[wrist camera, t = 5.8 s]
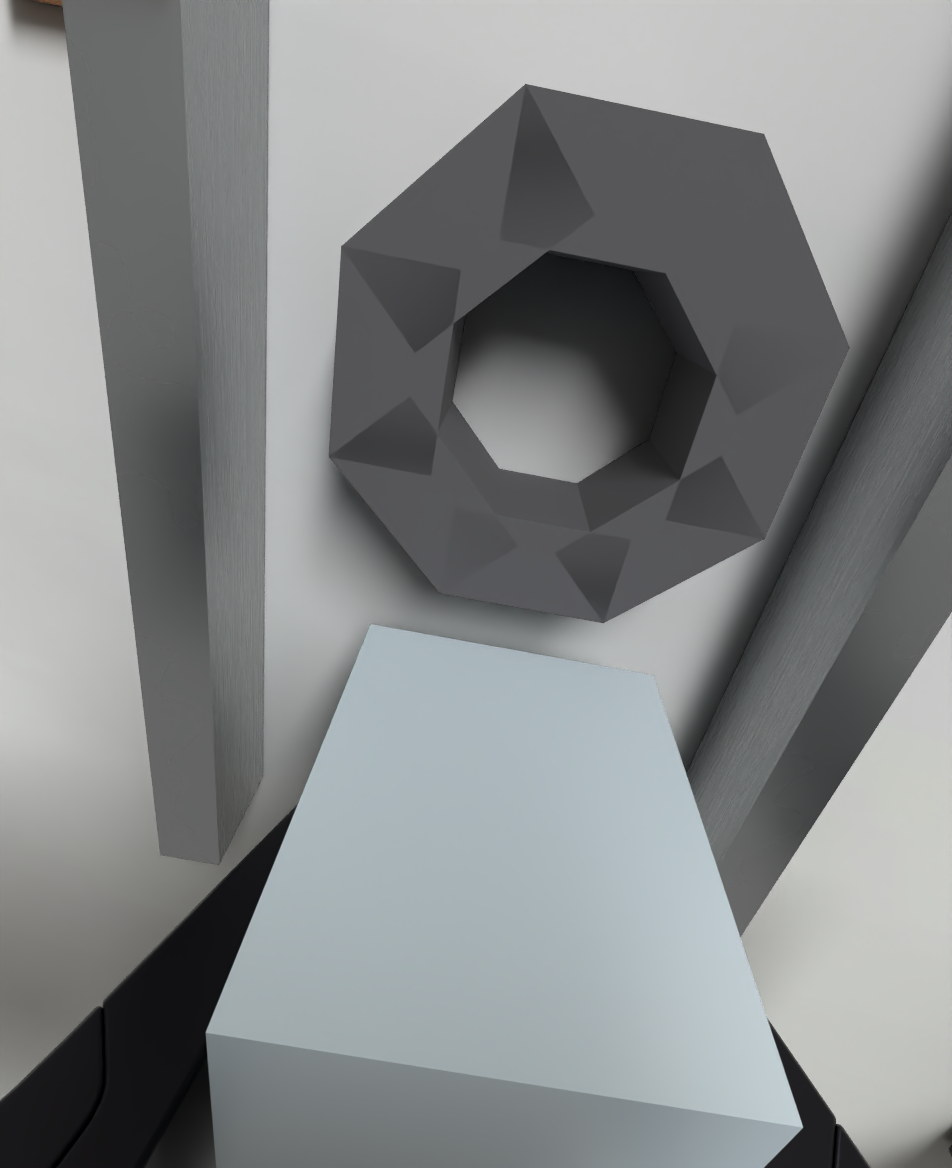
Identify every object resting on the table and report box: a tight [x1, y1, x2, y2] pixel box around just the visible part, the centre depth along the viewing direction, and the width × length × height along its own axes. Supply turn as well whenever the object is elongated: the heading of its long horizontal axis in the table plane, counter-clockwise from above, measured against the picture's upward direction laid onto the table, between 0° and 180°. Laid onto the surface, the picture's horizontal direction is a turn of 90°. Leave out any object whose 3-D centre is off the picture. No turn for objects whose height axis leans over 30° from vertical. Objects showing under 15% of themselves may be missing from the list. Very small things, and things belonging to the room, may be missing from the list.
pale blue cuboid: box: [206, 624, 803, 1168], centre depth 7 cm, size 5×4×5 cm
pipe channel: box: [34, 0, 952, 937], centre depth 7 cm, size 19×14×2 cm
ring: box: [329, 84, 850, 623], centre depth 7 cm, size 5×5×2 cm
